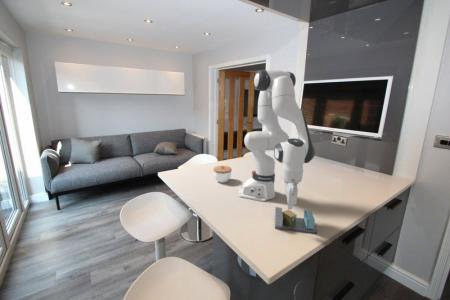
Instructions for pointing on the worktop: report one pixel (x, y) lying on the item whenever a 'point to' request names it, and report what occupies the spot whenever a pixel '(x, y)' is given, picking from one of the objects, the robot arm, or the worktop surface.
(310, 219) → the block
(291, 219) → the tan short block
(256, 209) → the worktop surface
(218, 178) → the lidded bowl
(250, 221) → the worktop surface
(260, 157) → the robot arm
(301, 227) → the press bed
